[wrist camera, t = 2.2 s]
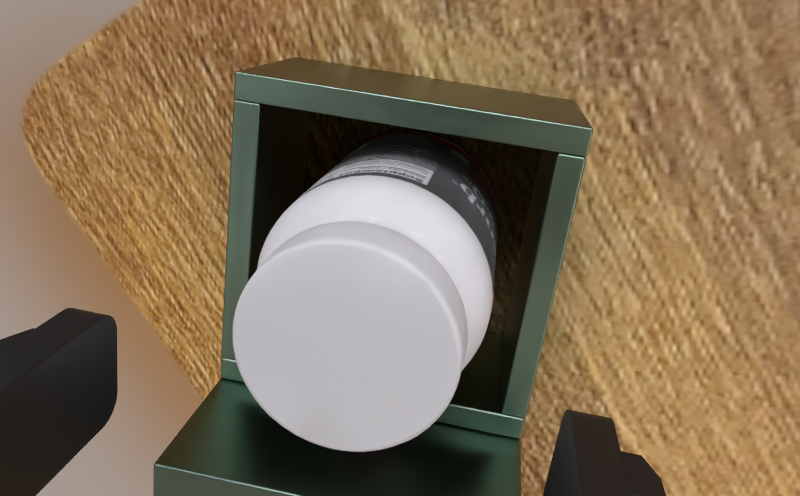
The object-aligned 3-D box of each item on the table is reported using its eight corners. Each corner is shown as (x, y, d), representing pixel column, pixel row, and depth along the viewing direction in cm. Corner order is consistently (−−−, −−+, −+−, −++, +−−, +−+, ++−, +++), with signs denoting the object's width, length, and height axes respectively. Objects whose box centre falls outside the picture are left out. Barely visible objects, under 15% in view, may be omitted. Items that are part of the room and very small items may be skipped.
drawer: (294, 56, 22) (156, 89, 13) (575, 100, 21) (617, 165, 12) (272, 333, 25) (152, 497, 17) (513, 380, 24) (514, 579, 16)
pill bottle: (504, 290, 23) (498, 479, 14) (341, 297, 24) (234, 479, 15) (492, 118, 21) (476, 205, 12) (316, 134, 22) (177, 226, 13)
